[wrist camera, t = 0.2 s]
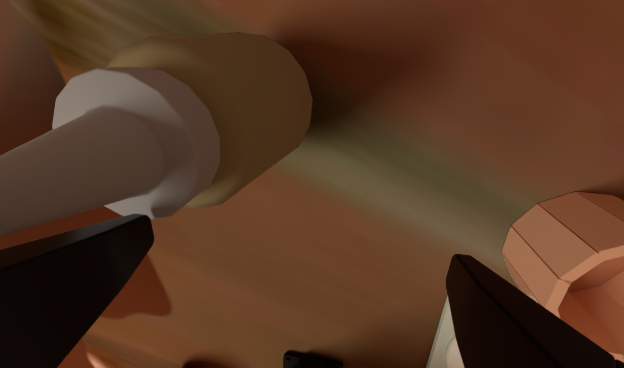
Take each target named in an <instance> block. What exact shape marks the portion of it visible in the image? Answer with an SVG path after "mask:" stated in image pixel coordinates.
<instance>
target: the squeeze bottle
mask: <svg viewBox="0 0 624 368" xmlns="http://www.w3.org/2000/svg"><path fill="white" fill-rule="evenodd" d="M312 102H313V99H312V95H311V92H310V88H309V84H308V81H307V77H306V73H305V72H304V71H303V69H302V68H301V66H300V65H299V64H298V62H297V61H296V60H295V58H294V57H293V55H292V54H291V53H290V51H289V50H287V49H286V48H284V47H282V46H281V45H279V44H278V43H276V42H274V41H273V40H271V39H269V38H268V37H266V36H263V35H255V34H247V33H239V32H237V33H217V34H197V35H177V36H157V37H149V38H146V39H144V40H141V41H139V42H136V43H133V44H131V45H128V46H126V47H123V48H121V49H120V50H119V51H118V53H117V54H116V55H115V56H114V58H113V59H112V60H111V61H110V63H109V64H108V65H107V66H106V67H102V68H95V69H93V70H90V71H87V72H85V73H82V74H79V75H77V76H74V77H72V78H71V79H70V81H69V82H68V83H67V85H66V86H65V88H64V89H63V90H62V91H61V93H60V94H59V95H58V97H57V98H56V104H55V111H54V118H53V126H52V127H53V130H51V131H49V132H47V133H45V134H43V135H41V136H40V137H38V138H35V139H33V140H31V141H29V142H28V143H25V144H23V145H21V146H19V147H17V148H15V149H13V150H11V151H9V152H7V153H5V154H3V155H1V156H0V236H2V235H5V234H9V233H12V232H16V231H19V230H22V229H26V228H29V227H32V226H36V225H39V224H43V223H46V222H50V221H53V220H56V219H59V218H63V217H67V216H70V215H73V214H77V213H80V212H84V211H87V210H91V209H94V208H98V207H101V206H105V207H107V208H109V209H111V210H113V211H115V212H117V213H118V214H120V215H123V216H127V215H131V214H144V215H147V216H149V218H150V220H153V219H158V218H163V217H168V216H172V215H173V214H175V213H176V212H177V211H178V210H180V209H181V208H182V207H186V208H192V209H199V208H204V207H209V206H214V205H219V204H222V203H224V202H225V201H226V200H228V199H229V198H230V197H232V196H233V195H234V194H236V193H237V192H238V191H240V190H241V189H242V188H244V187H245V186H246V185H248V184H249V183H250V182H252V181H253V180H254V179H256V178H257V177H258V176H260V175H261V174H262V173H264V172H265V171H266V170H268V169H269V168H270V167H272V166H273V165H274V164H276V163H277V162H278V161H280V160H281V159H282V158H284V157H285V156H286V155H288V154H289V153H290V152H292V151H293V150H294V149H296V148H297V147H298V146H299V144H300V143H301V141H302V139H303V137H304V135H305V134H306V132H307V130H308V128H309V126H310V120H311V111H312Z"/></svg>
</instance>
